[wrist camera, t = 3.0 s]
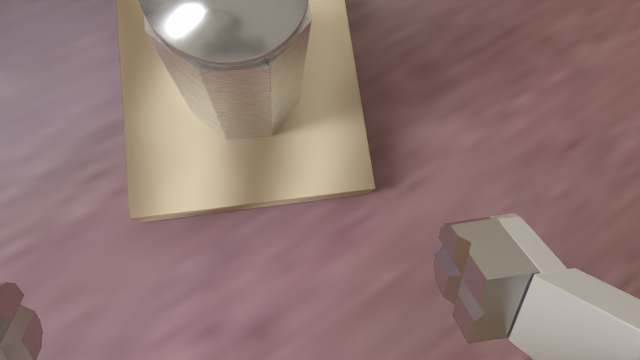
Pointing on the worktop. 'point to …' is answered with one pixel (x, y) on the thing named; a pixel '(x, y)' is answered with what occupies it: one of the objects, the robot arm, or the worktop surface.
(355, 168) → the post stand
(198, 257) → the worktop surface
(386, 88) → the worktop surface
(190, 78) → the silver metal canister
